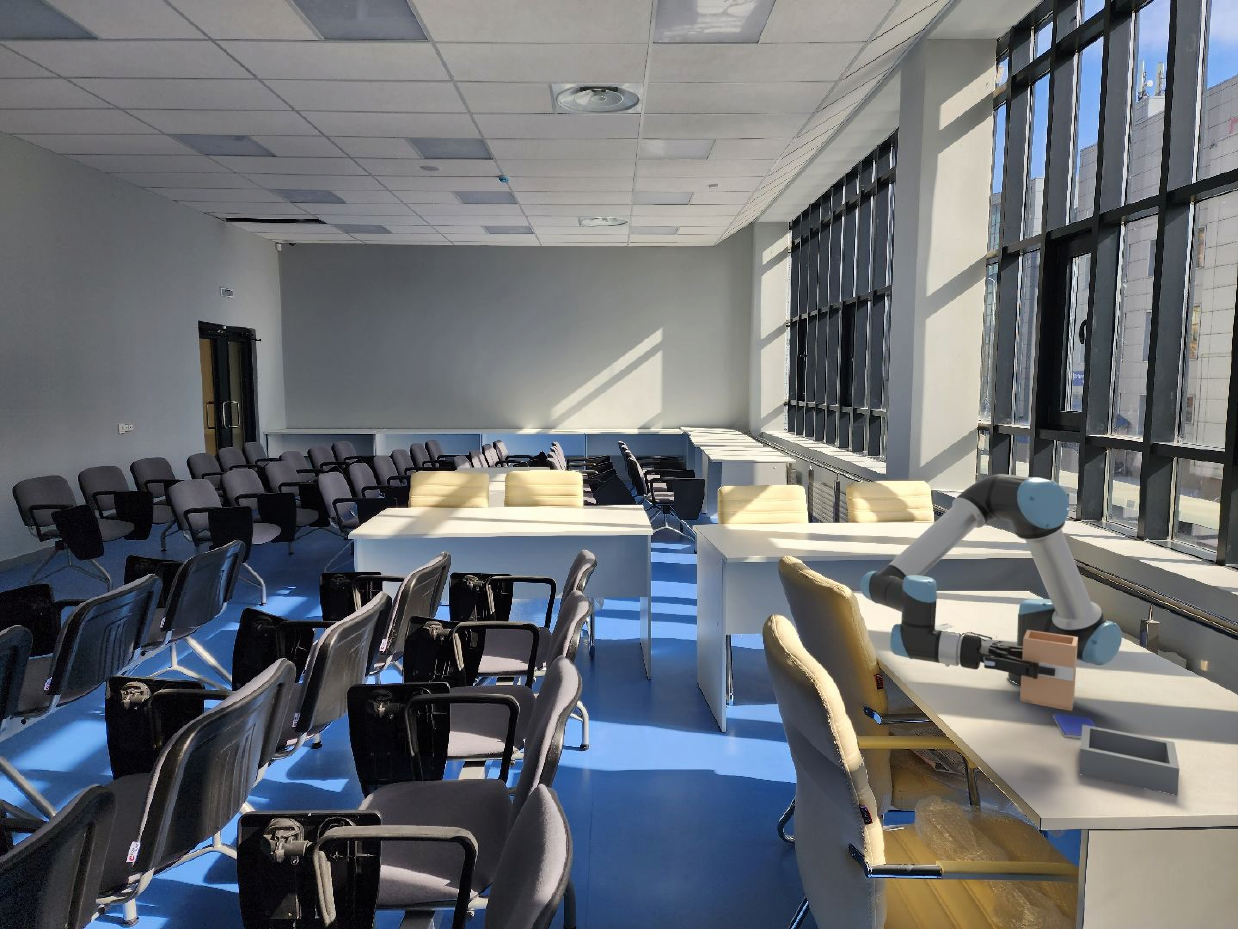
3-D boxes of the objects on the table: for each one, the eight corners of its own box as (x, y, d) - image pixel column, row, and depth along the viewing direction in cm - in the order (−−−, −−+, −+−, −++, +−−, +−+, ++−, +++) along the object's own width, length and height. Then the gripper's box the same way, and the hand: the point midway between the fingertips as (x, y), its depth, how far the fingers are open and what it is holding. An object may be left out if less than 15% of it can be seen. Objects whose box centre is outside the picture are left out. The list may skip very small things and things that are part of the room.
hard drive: (1104, 737, 187) (1090, 718, 198) (1064, 733, 189) (1053, 713, 201) (1104, 744, 187) (1090, 724, 199) (1064, 739, 189) (1052, 720, 201)
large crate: (1081, 748, 183) (1082, 724, 182) (1172, 767, 174) (1174, 742, 174) (1078, 774, 170) (1080, 748, 169) (1177, 795, 161) (1179, 768, 161)
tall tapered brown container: (1023, 690, 185) (1027, 629, 184) (1074, 699, 180) (1077, 637, 179) (1019, 701, 178) (1023, 638, 177) (1072, 711, 173) (1076, 646, 172)
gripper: (967, 654, 197) (1075, 672, 185) (952, 679, 179) (1070, 700, 168) (969, 624, 197) (1077, 639, 185) (954, 645, 179) (1072, 664, 167)
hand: (1074, 668), depth 176 cm, fingers closed on tall tapered brown container, 8 cm apart
